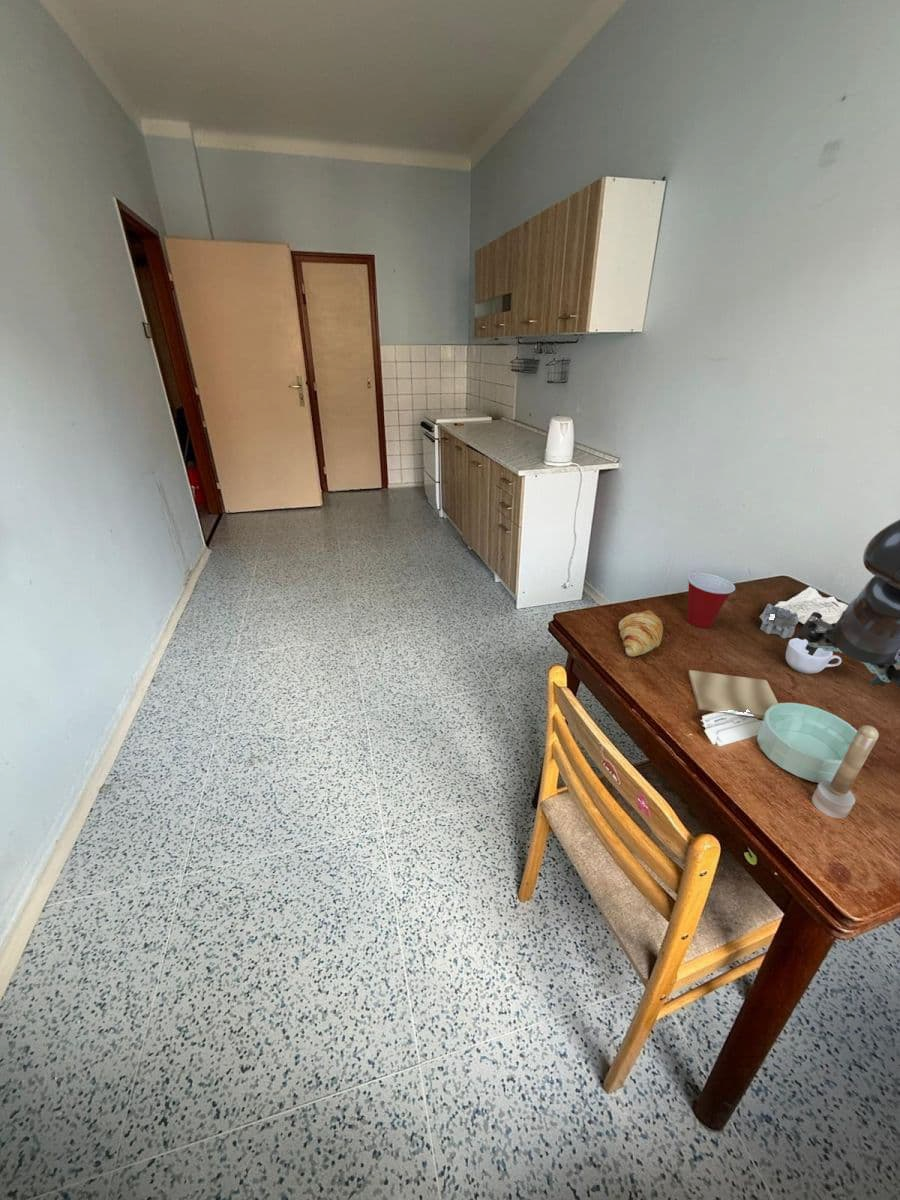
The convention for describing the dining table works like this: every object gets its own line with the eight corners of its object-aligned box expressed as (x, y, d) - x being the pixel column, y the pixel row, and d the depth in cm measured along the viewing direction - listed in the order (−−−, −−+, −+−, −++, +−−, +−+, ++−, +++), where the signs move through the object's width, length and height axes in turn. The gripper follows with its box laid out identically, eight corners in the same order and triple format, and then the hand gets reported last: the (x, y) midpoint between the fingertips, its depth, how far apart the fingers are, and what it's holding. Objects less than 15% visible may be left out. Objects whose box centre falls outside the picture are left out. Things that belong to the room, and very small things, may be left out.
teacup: (784, 673, 103) (792, 652, 100) (778, 654, 109) (786, 634, 106) (839, 684, 99) (849, 663, 96) (831, 664, 105) (840, 644, 102)
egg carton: (791, 641, 114) (796, 626, 112) (755, 631, 118) (760, 617, 116) (797, 623, 121) (802, 609, 119) (763, 614, 125) (768, 600, 123)
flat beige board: (765, 683, 100) (766, 680, 99) (784, 722, 89) (786, 718, 89) (688, 673, 103) (689, 669, 103) (698, 709, 93) (699, 705, 93)
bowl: (832, 732, 87) (844, 709, 84) (871, 795, 75) (885, 770, 72) (746, 719, 90) (755, 697, 88) (770, 777, 78) (780, 753, 76)
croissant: (640, 676, 108) (663, 655, 103) (603, 649, 110) (624, 627, 105) (656, 631, 124) (677, 611, 119) (624, 608, 126) (643, 588, 120)
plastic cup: (728, 636, 116) (741, 592, 110) (680, 630, 119) (691, 587, 113) (719, 614, 125) (731, 573, 119) (675, 609, 128) (684, 569, 122)
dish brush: (840, 797, 74) (882, 719, 67) (853, 821, 71) (900, 742, 63) (806, 791, 76) (844, 713, 68) (818, 815, 72) (859, 736, 64)
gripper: (964, 631, 57) (911, 671, 70) (831, 578, 65) (806, 623, 78) (931, 679, 56) (884, 711, 70) (801, 620, 65) (781, 658, 78)
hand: (843, 664), depth 74 cm, fingers open, 8 cm apart
